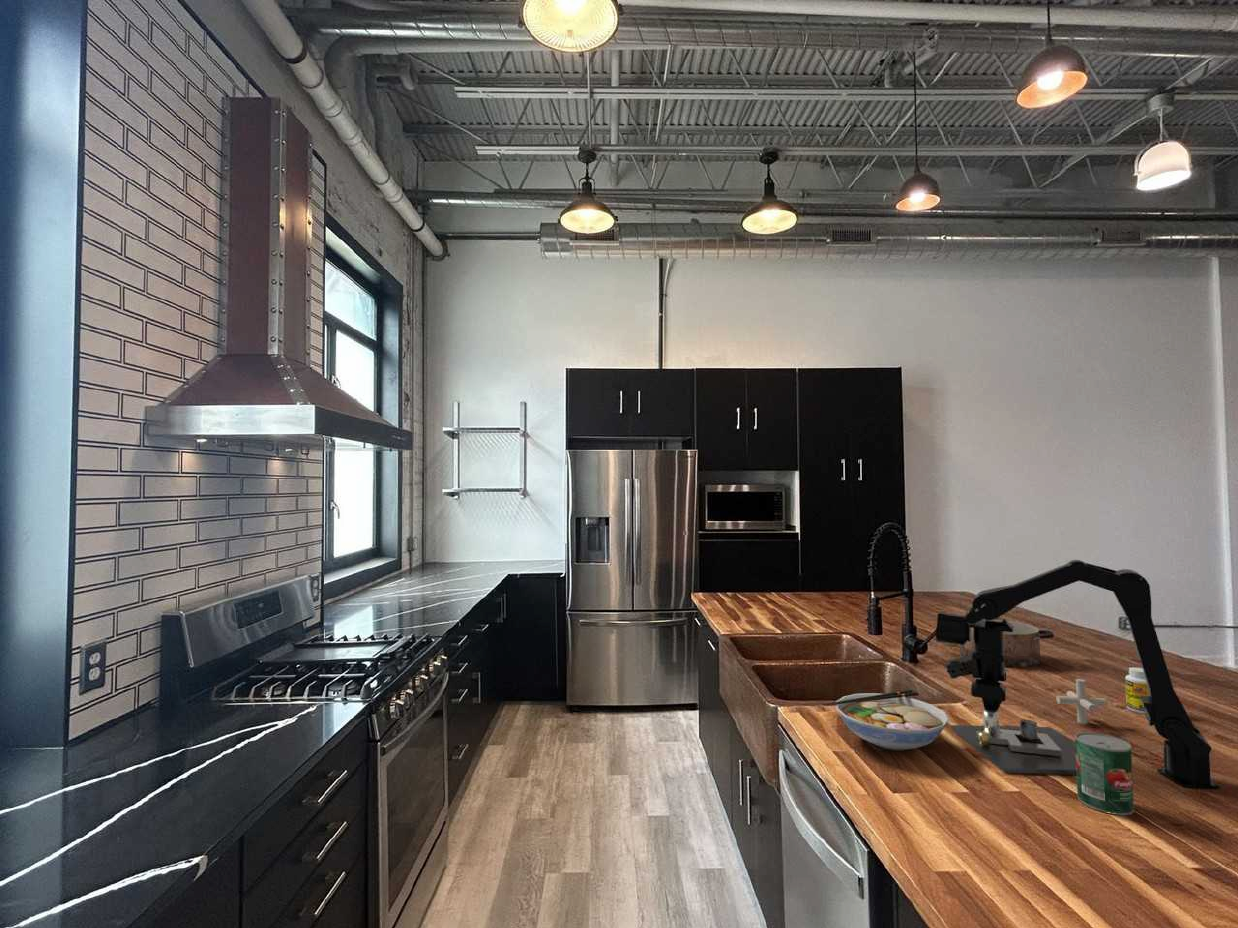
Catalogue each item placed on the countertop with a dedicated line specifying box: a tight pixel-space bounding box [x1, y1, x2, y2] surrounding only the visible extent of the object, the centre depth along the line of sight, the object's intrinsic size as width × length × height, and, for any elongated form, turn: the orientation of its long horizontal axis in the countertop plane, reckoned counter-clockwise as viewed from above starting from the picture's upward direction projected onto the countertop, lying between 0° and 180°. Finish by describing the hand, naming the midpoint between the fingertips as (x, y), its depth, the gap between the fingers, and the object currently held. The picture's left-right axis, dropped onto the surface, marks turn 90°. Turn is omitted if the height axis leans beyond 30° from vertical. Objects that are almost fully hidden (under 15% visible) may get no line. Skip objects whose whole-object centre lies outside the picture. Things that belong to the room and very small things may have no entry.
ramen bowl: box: [822, 689, 950, 752], centre depth 133 cm, size 25×23×8 cm
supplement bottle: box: [1125, 667, 1148, 715], centre depth 153 cm, size 6×6×10 cm
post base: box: [951, 719, 1077, 776], centre depth 129 cm, size 22×22×6 cm
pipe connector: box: [1055, 678, 1108, 725], centre depth 145 cm, size 10×10×10 cm
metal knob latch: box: [976, 708, 1062, 757], centre depth 130 cm, size 14×9×6 cm, turn 71°
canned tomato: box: [1074, 731, 1135, 816], centre depth 108 cm, size 8×8×11 cm
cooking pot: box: [959, 619, 1055, 669], centre depth 201 cm, size 30×22×11 cm
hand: (990, 719), depth 135 cm, fingers closed
